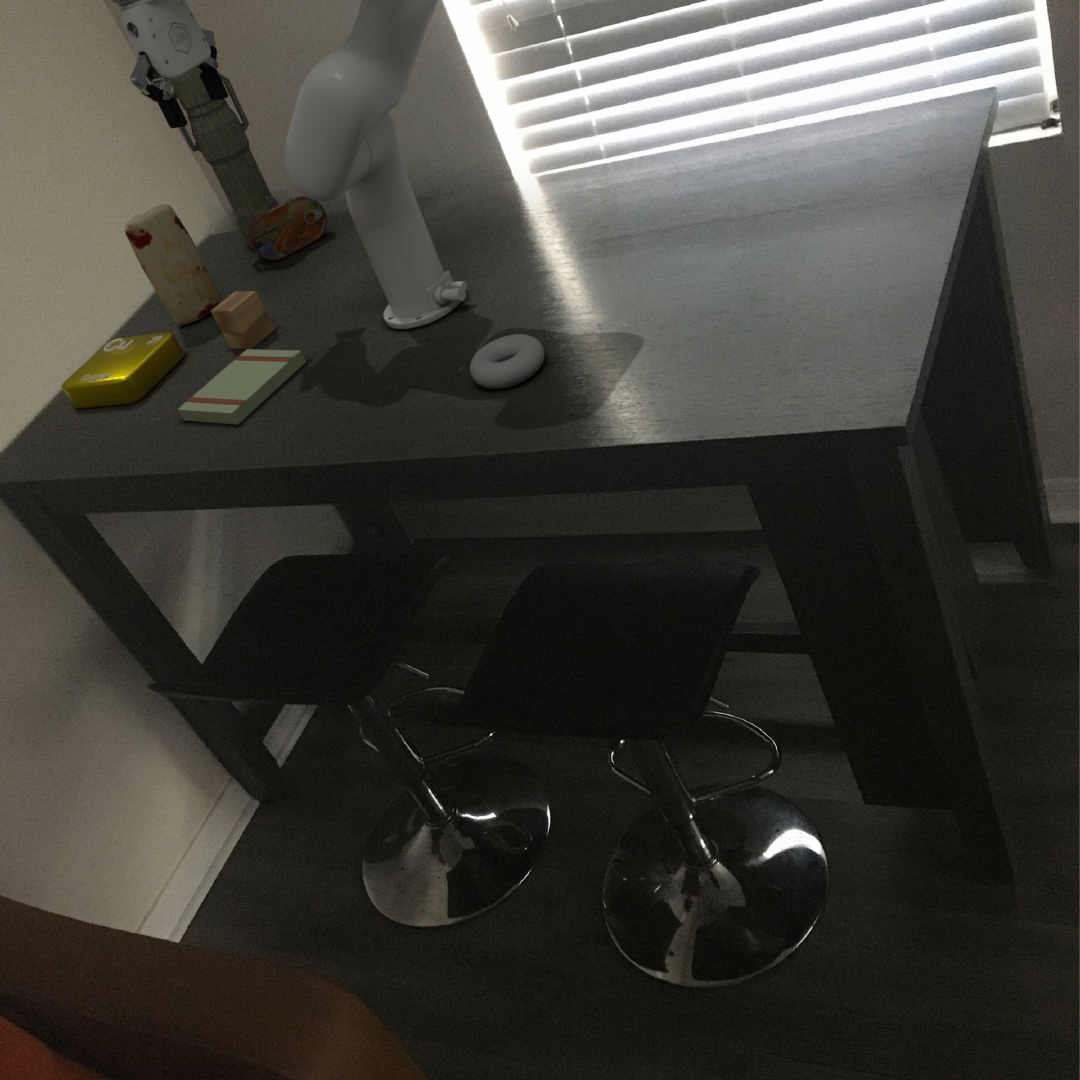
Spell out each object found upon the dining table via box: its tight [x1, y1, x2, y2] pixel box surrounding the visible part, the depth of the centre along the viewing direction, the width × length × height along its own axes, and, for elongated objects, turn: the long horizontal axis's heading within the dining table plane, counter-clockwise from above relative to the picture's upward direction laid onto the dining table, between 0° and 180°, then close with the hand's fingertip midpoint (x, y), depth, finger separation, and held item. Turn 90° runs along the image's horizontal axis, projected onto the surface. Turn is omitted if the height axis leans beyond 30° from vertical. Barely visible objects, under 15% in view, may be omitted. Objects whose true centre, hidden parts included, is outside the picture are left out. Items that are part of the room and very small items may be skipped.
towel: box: [176, 348, 307, 426], centre depth 160 cm, size 12×16×2 cm
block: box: [210, 290, 276, 350], centre depth 173 cm, size 5×6×7 cm
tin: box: [249, 195, 328, 261], centre depth 200 cm, size 15×3×8 cm, turn 120°
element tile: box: [61, 331, 185, 409], centre depth 175 cm, size 15×15×5 cm
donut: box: [469, 333, 545, 390], centre depth 139 cm, size 10×4×10 cm
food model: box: [124, 203, 220, 326], centre depth 184 cm, size 10×7×20 cm
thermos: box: [171, 67, 280, 249], centre depth 201 cm, size 9×12×35 cm
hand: (200, 112), depth 157 cm, fingers open, 9 cm apart
